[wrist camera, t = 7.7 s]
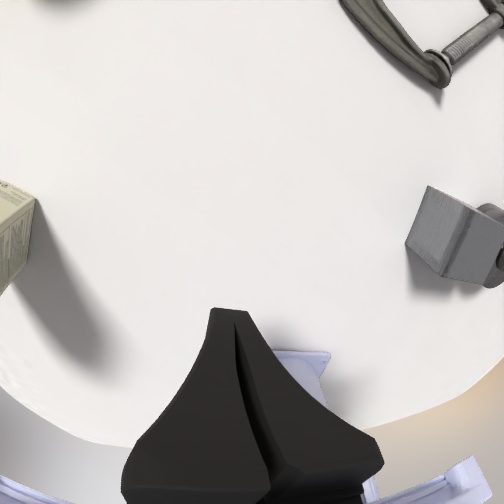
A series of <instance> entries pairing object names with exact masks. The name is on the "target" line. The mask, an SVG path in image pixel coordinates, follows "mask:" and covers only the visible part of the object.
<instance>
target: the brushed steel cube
mask: <svg viewBox="0 0 504 504" xmlns="http://www.w3.org/2000/svg"><path fill="white" fill-rule="evenodd" d="M503 242H504V226H503V225H502V224H500V223H499V222H497V221H495V220H494V219H492V218H491V217H489V216H487V215H486V214H484V213H482V212H481V211H479V210H477V209H476V208H474V207H472V206H470V205H469V204H467V203H464V202H462V201H460V200H458V199H456V198H454V197H452V196H450V195H448V194H446V193H444V192H441V191H439V190H437V189H435V188H433V187H430V186H427V189H426V191H425V194H424V197H423V199H422V202H421V205H420V207H419V210H418V212H417V215H416V217H415V220H414V222H413V225H412V227H411V230H410V232H409V234H408V237H407V239H406V241H405V244H406V245H407V246H408V247H409V248H410V249H412V250H413V251H414V252H415V253H416V254H417V255H418V256H419V257H420V258H422V259H423V260H424V261H425V262H426V263H427V264H428V265H429V266H430V267H431V268H432V269H433V270H434V271H436V272H437V273H438V274H439V275H440V276H442V277H447V278H452V279H457V280H462V281H467V282H472V283H477V284H482V285H483V283H484V281H485V279H486V277H487V275H488V273H489V271H490V269H491V267H492V265H493V263H494V261H495V259H496V257H497V255H498V253H499V251H500V248H501V246H502V244H503Z"/></svg>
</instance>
